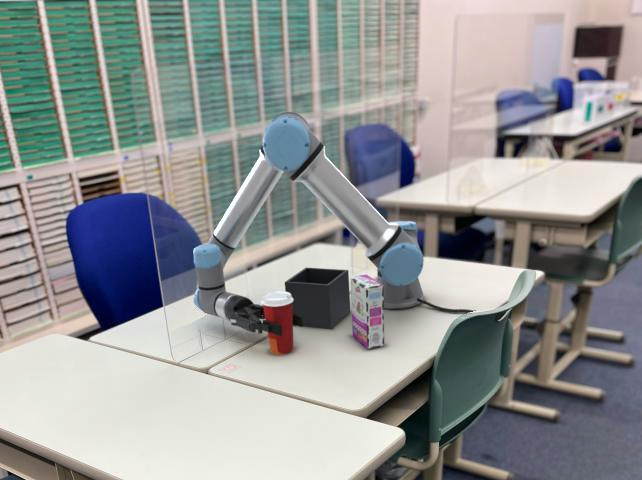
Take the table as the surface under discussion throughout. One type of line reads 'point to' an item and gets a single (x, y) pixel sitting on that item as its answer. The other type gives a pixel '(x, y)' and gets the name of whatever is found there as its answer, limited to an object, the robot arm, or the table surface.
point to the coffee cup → (279, 320)
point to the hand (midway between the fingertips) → (291, 325)
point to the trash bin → (320, 296)
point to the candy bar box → (367, 311)
